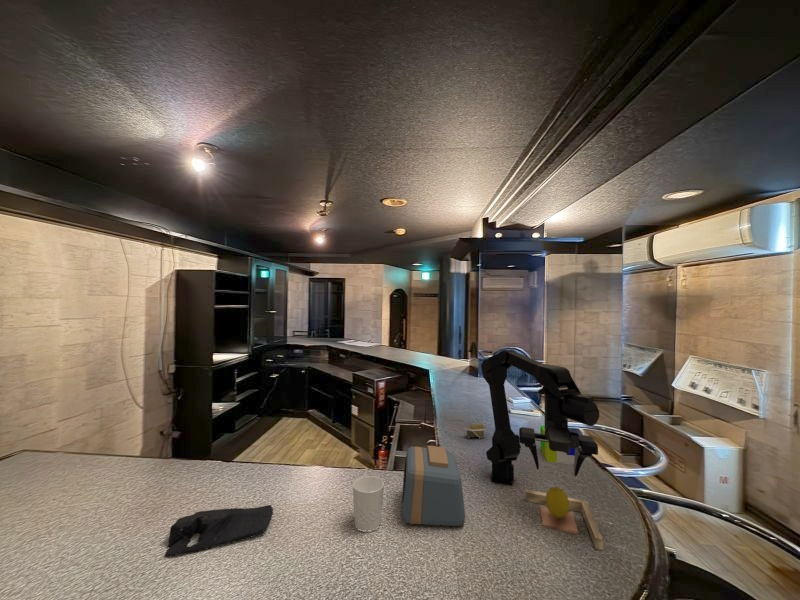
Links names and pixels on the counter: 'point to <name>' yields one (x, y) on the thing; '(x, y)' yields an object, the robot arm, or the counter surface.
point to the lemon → (557, 502)
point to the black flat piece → (217, 528)
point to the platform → (475, 430)
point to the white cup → (368, 502)
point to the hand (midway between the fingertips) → (556, 472)
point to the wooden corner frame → (567, 517)
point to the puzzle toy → (556, 452)
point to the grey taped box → (432, 488)
